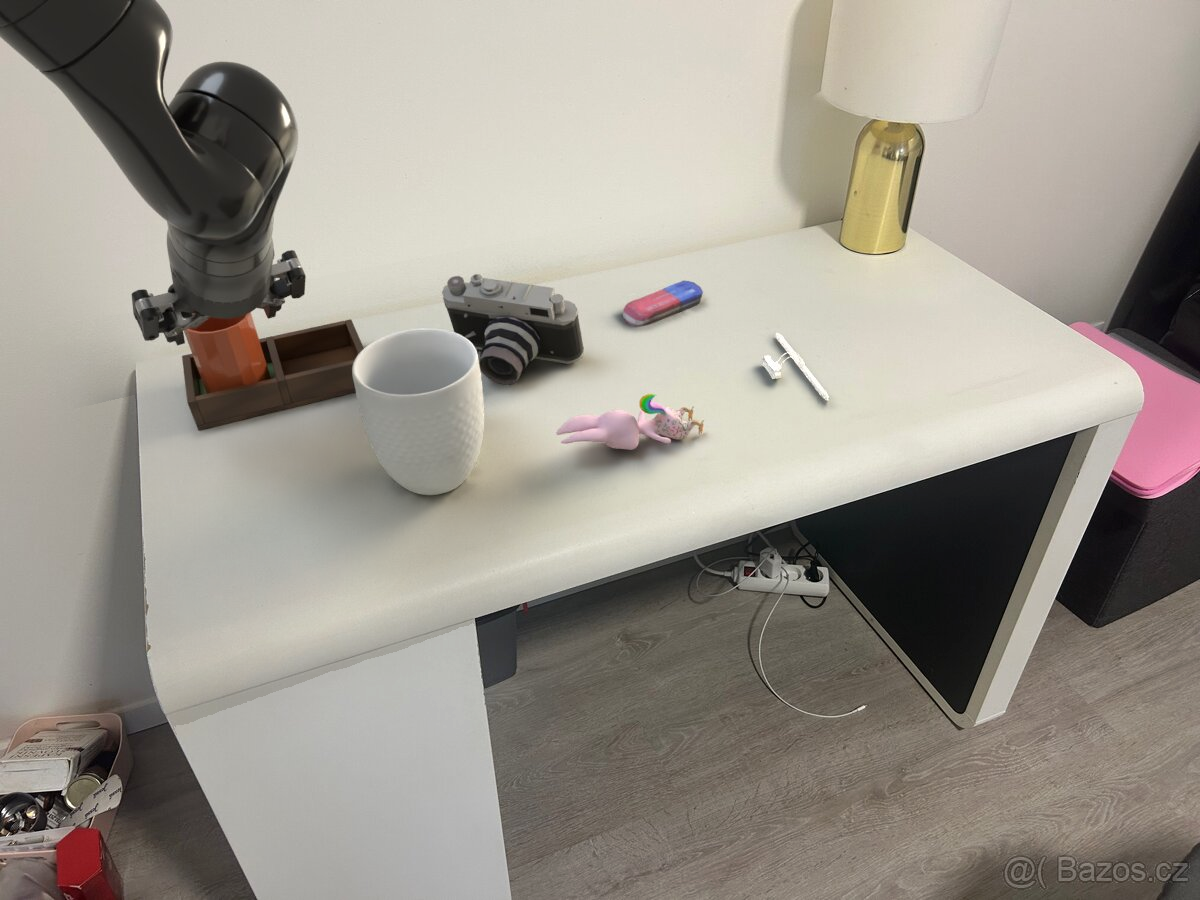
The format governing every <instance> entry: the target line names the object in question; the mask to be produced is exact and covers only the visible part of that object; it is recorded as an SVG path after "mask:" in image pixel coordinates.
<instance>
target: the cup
mask: <svg viewBox="0 0 1200 900" xmlns="http://www.w3.org/2000/svg"><path fill="white" fill-rule="evenodd" d="M195 314H196V313H193V315H195ZM183 333H184V337H185V338H186V341H187V344H188V346H189V349H190V352H191V354H192V355H193V357H194V360H195V363H196V365H197V368H198V371H199V373H200V376H201V379H202V382H203V384H204V387H205V390H206V392H207V394H208V393H213V392H217V391H221V390H226V389H230V388H234V387H239V386H243V385H247V384H252V383H256V382H260V381H264V380H269V379H271V377H270V373H269V370H268V367H267V363H266V360H265V357H264V354H263V350H262V347H261V344H260V341H259V339H260V338H259V335H258V331H257V328H256V324H255V321H254V318H253V315H252V312H250V313H248V314H246V315H244V316H240V317H237V318H230V319H220V318H214V317H212V318H210V319H208V320H207V321H206V322H204V323H203V324H201V325H200V326H199V327H197V328H193V329H185V330H184V331H183Z"/></svg>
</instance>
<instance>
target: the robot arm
mask: <svg viewBox="0 0 1200 900" xmlns="http://www.w3.org/2000/svg"><path fill="white" fill-rule="evenodd" d="M173 31H174V30H173V26H172V23H171V20H170V18H169V16H168V14H167V13H166V11H165V10H164V8H163V7H162V6H161V5H160V3H159V2H158V1H157V0H0V38H1V39H2V40H3V41H4V42H5V43H6V44H7V45H9V46H10V47H11V48H12V49H13V50H14V51H15V52H16V53H17V54H19V55H20V56H21V57H22V58H24V59H25V60H26V61H27V62H28V63H29V64H31V66H33V68H35V69H36V70H38V71H39V72H40V73H41V74H42V75H43V76H45V77H46V79H48V80H49V81H50V82H51V83H52V84H54V85H55V87H57V88H58V89H59V90H60V92H62V94H63V95H64V96H65V97H66V98H67V100H68V101H69V102H70V104H71V105H72V106H73V107H74V108H75V110H76V111H77V112H78V114H79V115H80V116H81V118H82V119H83V120H84V121H85V123H86V125H88V127H89V128H90V129H91V131H92V132H93V133H94V134H95V136H96V137H97V138H98V140H99V141H100V142H101V144H102V145H103V146H104V147H105V149H106V151H107V152H108V153H109V154H110V156H111V157H112V159H113V160H114V162H115V164H116V165H117V166H118V168H119V169H120V171H121V172H122V174H123V175H124V176H125V178H126V179H127V180H128V182H129V183H130V185H131V186H132V187H133V188H134V190H135V191H136V192H137V193H138V195H139V196H140V197H141V198H142V200H144V202H145V203H146V204H147V205H148V206H149V207H151V209H152V210H153V211H154V212H155V213H156V214H158V215H159V216H160V217H161V218H162V219H163V220H165V221H166V224H167V230H166V249H167V256H168V261H169V262H168V263H169V268H170V274H171V280H172V284H171V285H169V287H168V289H167V292H165V293H162V294H157V295H155V294H154V293H152V292H151V293H149V292H148V290H147V289H145V288H144V289H142V288H141V289H137V290H135V291H133V292H132V293H131V303H132V313H133V317H134V319H135V321H136V322H137V324H138V327H139V329H140V331H141V334H142V337H143V340H144V341H146V342H150V341H151V342H152V341H154V340H157V338H159V337H160V334H164V338H165V339H166V340H165V341H166V342H167V343H170V344H171V343H175V344H176V346H181V345H184V344H186V341H185V333H184V330H185V329H193V328H197V327H199V326H200V325H201V324H203V323H204V322H206V321H207V320H208V319H210V318H212V317H214V318H220V319H230V318H237V317H240V316H244V315H246V314H248V313H250V312H251V313H252V312H253V311H255V310H256V309H259V310H263V311H264V314H265V316H266V318H267V319H268V320H270V319H272V318H276V315H277V312H279V311H280V310H282V306H283V304H285V303H286V300H285V299H286V298H288V297H290V296H291V299H300V298H302V297H304V296H305V293H306V278H307V276H306V273H305V271H304V269H303V266H302V264H301V262H300V260H299V257H298V254H297V253H296V251H295V250H293V249H290V250H286V251H285V252H283V253H282V254H281V258H279V259H277V260H276V263H274V259H275V248H274V247H275V246H274V239H273V232H274V231H273V230H274V215H275V212H276V207H277V206H278V205H277V204H278V201H279V199H280V197H281V194H282V192H283V190H284V187H285V185H286V182H287V180H288V177H289V175H290V172H291V169H292V167H293V163H294V161H295V157H296V154H297V151H298V146H299V129H298V122H297V119H296V115H295V113H294V110H293V108H292V106H291V104H290V103H289V101H288V99H287V98H286V96H285V95H284V93H283V92H282V91H281V90H280V88H279V87H278V85H276V84H275V83H274V82H272V80H271V79H269V77H267V76H265V75H264V74H263V73H261V72H260V71H258V70H257V69H255V68H252V67H251V66H248V65H246V64H242V63H239V62H234V61H214V62H209V63H207V64H203V65H201V66H199V67H198V68H197V69H195V70H193V71H192V72H191V73H190V74H189V75H188V76H187V77H186V79H185V80H184V81H183V83H182V84H181V86H179V89H177V92H176V93H175V95H174V97H172V99H171V101H170V102H169V104H168V102H167V100H166V97H165V93H164V80H165V73H166V69H167V64H168V60H169V56H170V53H171V49H172V45H173V38H174V34H173ZM273 263H274V264H273ZM193 313H196V314H195V315H193Z"/></svg>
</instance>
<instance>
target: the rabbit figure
mask: <svg viewBox="0 0 1200 900" xmlns="http://www.w3.org/2000/svg"><path fill="white" fill-rule="evenodd" d="M656 396H657V394H653V393H647V394H645V395H642V396H641V398H640V399H639V408H640V411H639V413H638V417H637V418H636V417H635V415H634V414H632V413H630V412H629V411H626V410H623V409H615V410H609V411H606V412H604V413H602V414H599V415H594V414H581V415H576V416H572V417H570V418H569V419H567V420H566V421H565V422H563V424H562V425H560V427H559V428H558V429H557V431H556V432H555V433H556V436H560V435H565V434H571V435H569V436H567V437H566V438H563V439H562V440H560V444H564V445H566V444H571V443H579V442H592V443H601V444H605V445H606V446H607V447H609V448H611V449H617V450H619V449H620V450H621V449H622V450H630V451H632V450H635V449H637V447H638V445H639V444H640V435H644V436H646V437H649V438H651V439H653V440H656V441H658V442H661V443H664V444H671V441H672V440H671V439H673V440H677V441H678V440H680V441H681V440H683V439H686V438H687V437H688V436H689V434H690V432H691V430H692V429H693V427H694V426H698V427H697V430H698V435H699V436H701V435H703V434H704V433H703V432H704V423H703V422H704V421H705V420H706V419H702V420H701V422H698V421H697V420H693V415H694V410H693V409H694V407H695V406H694V405H693V406H692V407H691V408H690V409H689V408H688V407H686V406H682V407H681V408H679V409H674V408H672V407H664V406H663V405H662V404H660V402H659V403H658V402H655V401H652V400H653V399H654V398H655V397H656ZM686 412H687V413H688V414H687V417H688V418H687V419H688V421H687V420H683V418H684V415H685V413H686ZM646 414H648V415H655V416H654V417H653V418H651V419H648V418H647V419H646V417H645V416H646ZM572 433H573V434H572Z"/></svg>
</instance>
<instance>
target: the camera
mask: <svg viewBox="0 0 1200 900" xmlns="http://www.w3.org/2000/svg"><path fill="white" fill-rule="evenodd" d="M441 294H442V299H443V303H444V306H445V308H446V311H447V313H448V317H449V320H450V323H451V326H452V329H453V332H455V333H457V334H460V335H461V336H463V337H465V338H466V339H468V340H469V341H470V342H471V343H472V344H473V345H474V347H475V348H476V350H479V351H480V358H479V359H478V360H479V367H480V372H481V374H483V375H484V376H485V377H486V378H488V380H491V381H493V382H494V383H497V384H500V385H512V384H515V383H517V382H518V380H520V377H521V375H523V374H524V373H525V371H526V369H527V367H528V366H529V364H530V362H532V361H533V360H534V359H536V360H542V361H548V362H554V363H561V364H567V365H570V364H573V363H576V362H578V361H580V360H581V359H582V358H583V356H584V352H585V347H584V342H583V337H582V330H581V326H580V319H579V310H578V307H577V306H576V304H575V303H574V302H572V301H570V300H565V299H564V296H563V295H562V294H560V293H556V291H555V287H551V286H543V285H537V284H536V285H535V284H532V282H530V283H522V282H515V281H512V280H510V281H507V280H502V279H493V278H486V277H483V276H482V275H481V274H479V273H474V274H473V275H471V277H470V281H469V282H465V280H464V278H463V277H462V276H460V275H455V276H452V277H450V278H449V279H448V280H447V282H446V285H444V286H443V288H442V291H441Z"/></svg>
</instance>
